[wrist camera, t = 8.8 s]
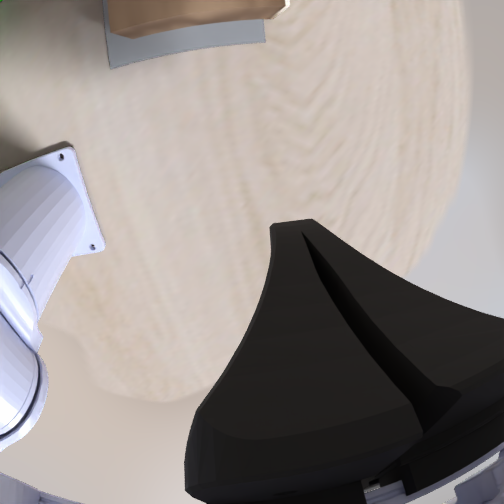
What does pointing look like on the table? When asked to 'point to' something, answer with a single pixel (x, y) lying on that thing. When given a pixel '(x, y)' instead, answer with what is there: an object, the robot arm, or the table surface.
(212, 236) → the table surface
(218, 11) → the walnut block
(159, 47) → the mat
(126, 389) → the table surface
